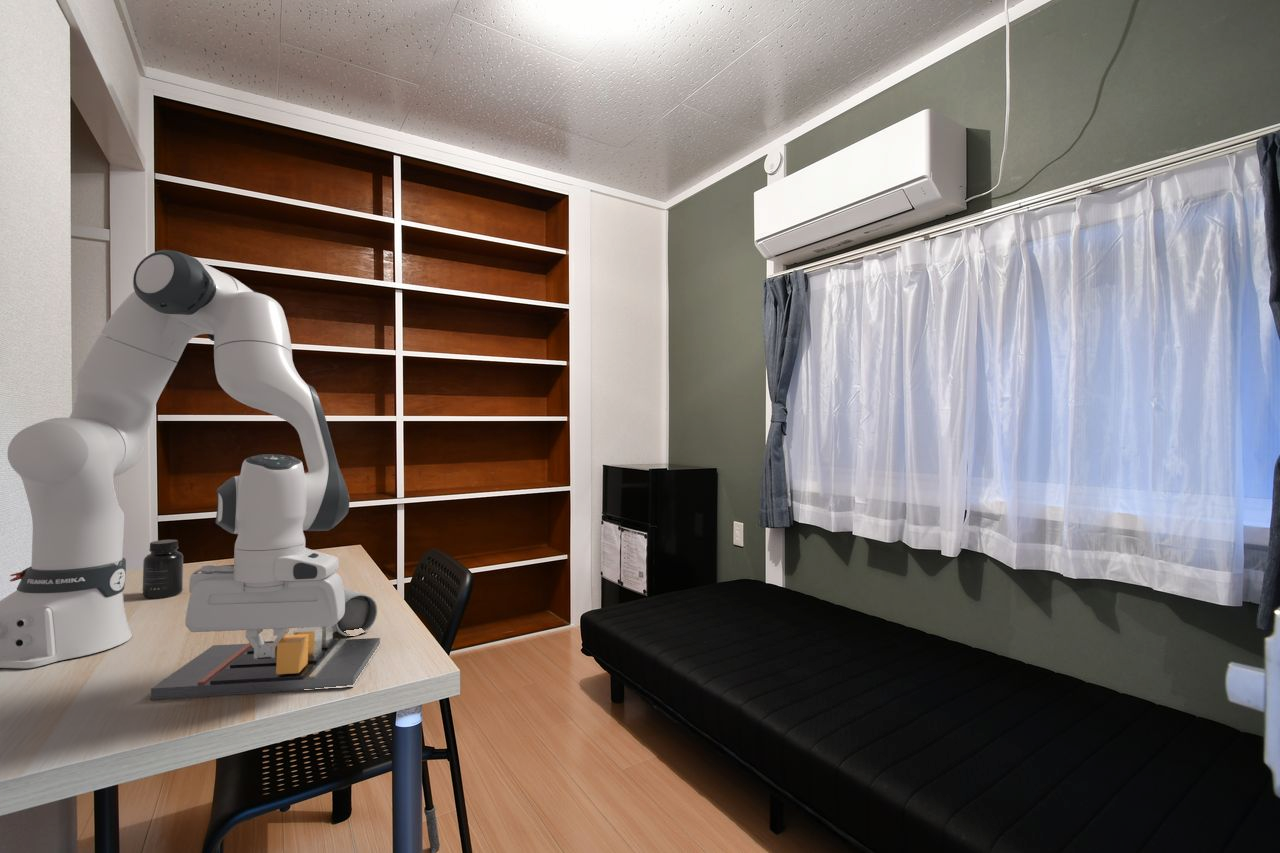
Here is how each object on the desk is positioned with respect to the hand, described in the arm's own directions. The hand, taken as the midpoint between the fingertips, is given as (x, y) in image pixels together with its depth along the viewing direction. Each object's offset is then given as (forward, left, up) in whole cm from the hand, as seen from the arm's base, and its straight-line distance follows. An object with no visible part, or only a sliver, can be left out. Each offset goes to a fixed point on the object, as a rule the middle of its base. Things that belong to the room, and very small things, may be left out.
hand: (266, 657), depth 83 cm
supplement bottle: (-41, +52, -4) cm, 66 cm away
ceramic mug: (+4, +22, -5) cm, 23 cm away
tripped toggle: (+3, 0, -2) cm, 4 cm away
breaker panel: (0, +6, -4) cm, 7 cm away
